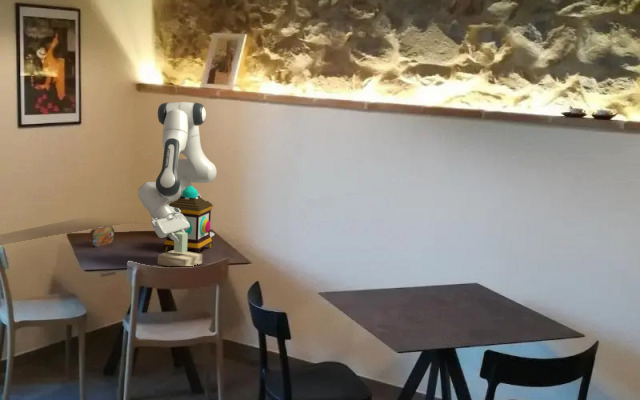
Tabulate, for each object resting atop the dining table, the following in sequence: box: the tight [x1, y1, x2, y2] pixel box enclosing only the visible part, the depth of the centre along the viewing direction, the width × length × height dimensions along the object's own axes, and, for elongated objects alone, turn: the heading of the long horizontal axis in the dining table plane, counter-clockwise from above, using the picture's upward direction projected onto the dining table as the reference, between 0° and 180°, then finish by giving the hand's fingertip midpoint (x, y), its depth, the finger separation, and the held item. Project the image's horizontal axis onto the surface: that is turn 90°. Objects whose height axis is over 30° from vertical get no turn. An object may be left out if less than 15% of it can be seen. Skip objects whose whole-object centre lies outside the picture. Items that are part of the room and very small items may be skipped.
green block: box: [173, 232, 188, 253], centre depth 331 cm, size 4×4×8 cm
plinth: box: [157, 249, 204, 267], centre depth 332 cm, size 13×14×4 cm
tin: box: [88, 225, 116, 248], centre depth 356 cm, size 15×3×8 cm, turn 154°
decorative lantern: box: [163, 185, 214, 254], centre depth 355 cm, size 20×20×30 cm
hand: (182, 241), depth 331 cm, fingers closed on green block, 4 cm apart
